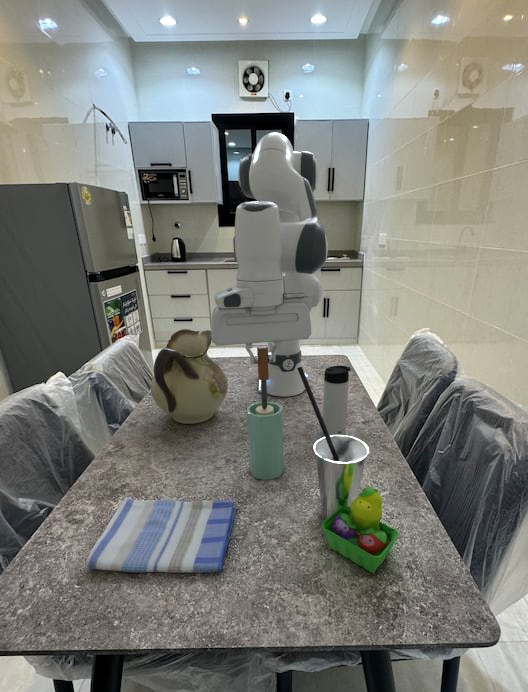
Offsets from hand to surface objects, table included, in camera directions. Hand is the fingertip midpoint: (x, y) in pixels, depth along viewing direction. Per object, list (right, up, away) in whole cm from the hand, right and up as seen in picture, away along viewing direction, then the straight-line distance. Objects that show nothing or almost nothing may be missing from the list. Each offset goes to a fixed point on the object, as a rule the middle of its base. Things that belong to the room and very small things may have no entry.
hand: (262, 362), depth 80 cm
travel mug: (+18, -18, +25) cm, 36 cm away
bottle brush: (0, -16, +7) cm, 18 cm away
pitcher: (-23, -13, +38) cm, 46 cm away
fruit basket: (+18, -34, -12) cm, 40 cm away
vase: (0, -24, +11) cm, 27 cm away
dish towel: (-17, -33, -9) cm, 39 cm away
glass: (+14, -31, -4) cm, 34 cm away
